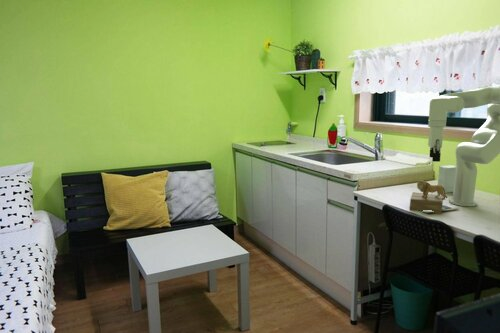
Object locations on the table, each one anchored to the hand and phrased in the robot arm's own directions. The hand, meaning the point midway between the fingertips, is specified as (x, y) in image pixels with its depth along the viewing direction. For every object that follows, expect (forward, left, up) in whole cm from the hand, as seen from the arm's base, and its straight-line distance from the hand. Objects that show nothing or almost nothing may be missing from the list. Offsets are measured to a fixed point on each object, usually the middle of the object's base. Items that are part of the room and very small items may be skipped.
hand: (434, 159), depth 187 cm
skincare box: (-37, +13, -25) cm, 47 cm away
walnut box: (+1, -2, -25) cm, 25 cm away
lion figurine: (+2, 0, -19) cm, 19 cm away
